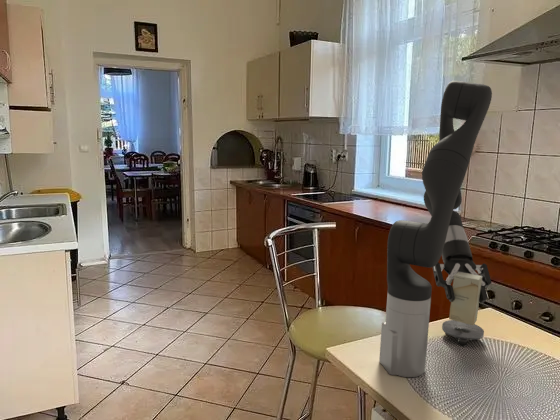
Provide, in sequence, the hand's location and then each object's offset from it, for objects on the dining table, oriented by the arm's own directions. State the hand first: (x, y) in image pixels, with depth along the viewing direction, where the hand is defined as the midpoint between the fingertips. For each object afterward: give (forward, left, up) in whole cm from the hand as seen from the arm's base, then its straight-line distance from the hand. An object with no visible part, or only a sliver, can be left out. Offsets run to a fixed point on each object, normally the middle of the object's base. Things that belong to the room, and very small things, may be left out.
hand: (467, 301), depth 110 cm
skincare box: (0, +2, -6) cm, 6 cm away
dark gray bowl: (0, +1, -11) cm, 11 cm away
